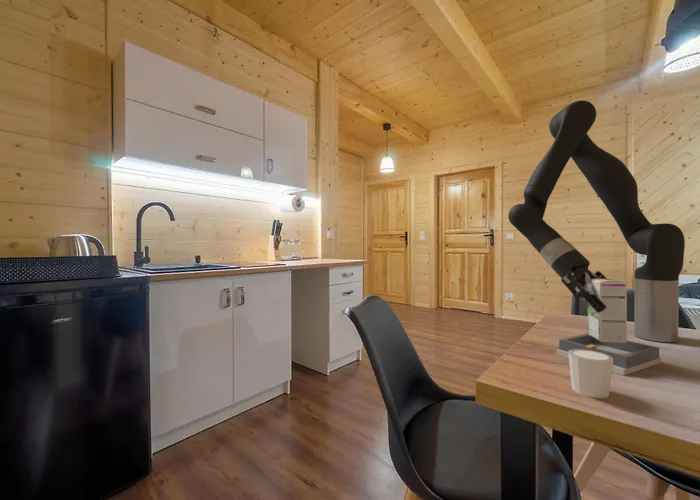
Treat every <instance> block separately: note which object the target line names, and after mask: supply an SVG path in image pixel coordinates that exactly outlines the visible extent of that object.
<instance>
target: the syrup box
mask: <svg viewBox="0 0 700 500" xmlns="http://www.w3.org/2000/svg"><path fill="white" fill-rule="evenodd" d="M590 281H591V283H592V291H593V295H596V296H597V297H598V298H599V299H600V300H601V301H602V302H603V303H604V304H605V305H606V309H605V310H603V311H602V312H597V311H596V310H595V309H594V308H593V307H592V306H591V305H590V304H589V303H588V302H587V333H588V335H589V336H591V337H593V338H595V339H597V340H599V341H601V342H611V343H627V341H628V336H627V335H628V334H627V333H628V332H627V331H628V326H627V324H628V318H627V317H628V311H627V310H628V309H627V308H628V299H627V297H628V295H627V294H628V293H627V292H628V291H627V290H628V288H627V287H628V283H627V281H624V280H618V279H613V278H607V279H605V278H596V279H590Z"/></svg>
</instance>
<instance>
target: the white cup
mask: <svg viewBox="0 0 700 500" xmlns="http://www.w3.org/2000/svg"><path fill="white" fill-rule="evenodd" d="M568 355H569V358H568V362H569V363H568V364H569V373H570V380H571V381H570V382H571V389H572V390H573V391H574V392H576V393H578V394H579V395H582V396H585V397H588V398H593V399H606V398H608V397H609V396H610V392H611V391H610V390H611V389H610V388H611V382H612V373H613V372H612V367H613V358H612V357H611V356H609V355H607V354H604V353H600V352H596V351H591V350H583V349H573V350H569V351H568Z"/></svg>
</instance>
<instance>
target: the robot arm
mask: <svg viewBox="0 0 700 500" xmlns="http://www.w3.org/2000/svg"><path fill="white" fill-rule="evenodd" d="M596 119H597V110H596V106H594V104H593V103H592V102H590V101H588V100H583V99H582V100H576V101H574V102H571V103H570V104H567V106H565V107H564V108H562V109H561V110H560V111H558V112H557V113H556V114H555V115H553V117H551V119H550V121H549V125H548V126H549V127H548V129H549V132H550V134H551V136H552V137H553V139H554V140H553V142H552V145H551V146H550V148H549V149H548V150H547V152H546V154H545V155H544V156H543V158H542V159H541V160H540V162H539V163H538V165H536V167H535V168H534V171H533V172H532V174H531V176H530V178H529V180H528V182H527V184H526V186H525V189H524V191H523V198H524V202H523V203H517V204H515V205H513V206H512V207H511V208H510V209H509V211H508V215H507V216H508V221H509V222H510V224H511V225H512V226H513V227H514V228H515V229H516V230H517V231H518V232H519V233H521V235H523V236H524V237H525V238H526V239H527V241H528V242H529V243H530V244H531V245H532V247H533V248H534V249H535V250H536V251H537V252H538V254H540V255H541V258H543V260H544V261H545V262H546V263H547V265H549V267H550V268H551V269H552V270H553V271H554V272H555V273H556V274H557V276H558V277H560V281H561V283H562V284H564V286H565V287H566V288H567V289H568V291H570V293H571V294H572V295H573V296H574V297H575V298H576V299H582V300H584V301H586V302H587V304H588V303H589V304H590V305H591V306H592V307H593V308H594V309H595V310H596V311H597V312H602V311H603V310H605V309H606V305H605V304H604V303H603V302H602V301H601V300H600V299H599V298H598V297H597V296H596V295H593V291H592V283H591V281H590V279H596V278H605V279H608V278H607V277H606V276H605V275H604V274H603V273H602V272H601V271H599V270H597V271H596V272H592V270H590V269H589V267H590V263H591V262H590V260H589V259H587V258H586V257H585V256H584V255H583V254H582V253H581V252H580V251H579V250H578V249H577V248H576V247H575V246H574V245H573V244H571V242H570V241H568V240H567V239H565V238H564V237H563V236H562V235H561V234H560V233H558V231H557V230H556V229H554V228H553V227H551V226H550V225H549V224H548V223H547V222H546V221H545V220H544V219H543V218H544V217H545V216H544V215H545V213H546V210H547V207H548V206H547V205H548V200H549V198H550V196H552V194H553V191H554V188H555V187H556V185H557V183H558V181H559V179H560V177H561V175H562V172H563V171H564V169H565V167H566V166H567V164H568V162H569V160H570V159H572V160H573V161H574V163H575V164H576V166H577V168H578V170H580V172H581V173H582V174H583V176H584V177H585V179H586V180H587V182H588V184H589V185H590V186H591V188H592V190H593V191H594V192H595V193H596V195H597V196H598V198H599V199H600V200H601V202H602V203H603V204H604V205H605V207H606V209H607V210H608V212H609V214H610V215H611V216H612V218H613V219H614V221H615V223H616V224H617V226H618V228H619V230H620V232H621V234H622V236H623V237H624V239H625V241H626V243H627V245H628V246H629V248H630V249H631V250H632V251H633V252H635V253H636V254H639V255H642V256H646V257H645V258H646V259H645V262H644V264H643V265H642V266H640V267H637V268H636V269H634V303H633V305H634V312H633V313H634V314H633V315H634V317H633V318H634V320H633V322H634V327H633V328H634V333H633V334H634V337H637V338H640V339H644V340H648V341H652V342H653V341H654V342H658V343H659V342H660V343H661V342H662V343H677V342H679V312H680V311H679V308H680V307H679V306H680V305H679V304H680V303H679V300H680V299H679V295H680V293H679V291H680V290H679V285H680V284H679V282H680V281H679V280H680V274H681V273H682V271H683V267H684V260H685V258H684V257H685V247H686V246H685V245H686V243H685V241H686V240H685V235H684V233H683V231H682V229H681V228H680V227H679V226H677V225H675V224H673V223H652V222H650V221H649V220H648V219H647V217H646V215H645V213H643V211H642V210H641V208H640V205H639V194H638V193H639V191H638V185H637V180H636V178H635V177H634V176H633V174H632V173H631V171H630V170H629V169H628V167H627V166H626V164H625V163H624V162H623V161H622V160H620V159H619V158H618V157H616V156H615V155H613V154H611V153H610V152H608V151H606V150H604V149H602V148H601V147H599V146H598V145H597V143H595V142H594V141H593V140H592V139H591V137H590V135H589V134H588V132H589V131H590V129H591V128H592V126H593V125H594V124H595V122H596Z"/></svg>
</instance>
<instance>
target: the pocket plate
mask: <svg viewBox="0 0 700 500" xmlns="http://www.w3.org/2000/svg"><path fill="white" fill-rule="evenodd" d="M558 342H559V343H558V345H559V346H558V347H559V348H558V349H556V355H557V356H560V357H563V358H567V359H569V355H568V351H569V350H573V349H583V350H591V351H596V352H600V353H604V354H607V355H609V356H611V357H612V358H613V367H612V373H615V374H618V375H621V376H626V375H630V374H632V373H635V372H638V371H641V370H644V369H647V368H650V367H652V366H657V365H659V364H662V357H660V347H658V346H653V345H649V344H645V343H640V342H636V341H631V340H627V343H611V342H601V341H599V340H597V339H595V338H593V337H591V336H589V335H588V332H587V333H584V334H579V335H573V336H569V337H565V338H560V339H558Z"/></svg>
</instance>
